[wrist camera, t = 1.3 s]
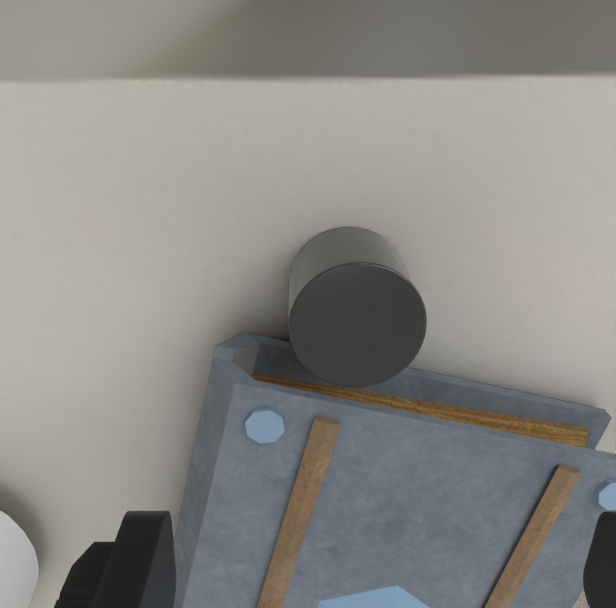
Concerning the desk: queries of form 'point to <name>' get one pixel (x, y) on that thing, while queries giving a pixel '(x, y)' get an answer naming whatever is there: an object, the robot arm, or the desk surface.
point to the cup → (16, 565)
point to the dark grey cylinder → (353, 309)
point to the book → (384, 491)
